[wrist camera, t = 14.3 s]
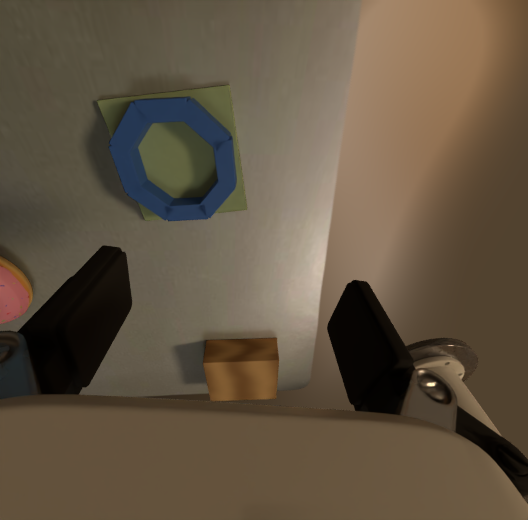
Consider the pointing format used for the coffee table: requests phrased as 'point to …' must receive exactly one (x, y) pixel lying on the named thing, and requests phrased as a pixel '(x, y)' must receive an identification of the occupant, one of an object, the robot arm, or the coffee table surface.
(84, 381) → the robot arm
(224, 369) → the platform
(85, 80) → the coffee table surface
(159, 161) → the mat
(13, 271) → the doughnut
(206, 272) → the coffee table surface
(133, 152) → the ring
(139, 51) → the coffee table surface
